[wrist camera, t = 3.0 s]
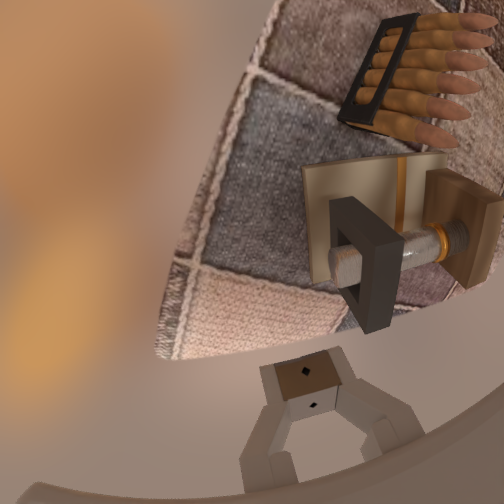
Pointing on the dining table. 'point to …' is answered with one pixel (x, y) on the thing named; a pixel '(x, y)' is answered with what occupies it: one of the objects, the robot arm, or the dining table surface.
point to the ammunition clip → (416, 76)
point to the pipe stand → (405, 205)
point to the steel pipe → (415, 250)
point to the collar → (368, 261)
